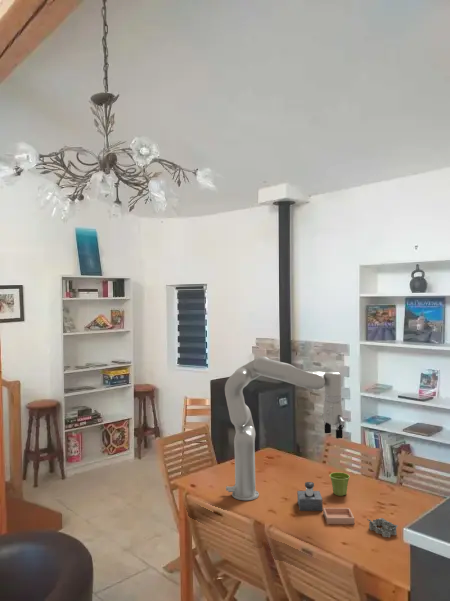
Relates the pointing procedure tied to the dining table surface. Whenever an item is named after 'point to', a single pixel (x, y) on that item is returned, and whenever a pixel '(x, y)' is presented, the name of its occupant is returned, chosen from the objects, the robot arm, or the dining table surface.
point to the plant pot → (339, 483)
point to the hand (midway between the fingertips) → (333, 435)
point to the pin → (309, 489)
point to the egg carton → (387, 527)
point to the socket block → (310, 501)
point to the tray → (338, 516)
